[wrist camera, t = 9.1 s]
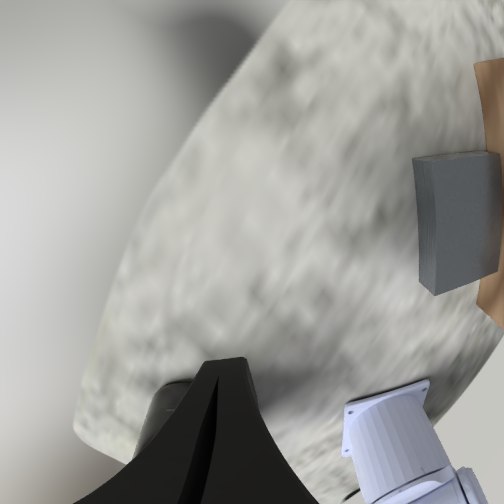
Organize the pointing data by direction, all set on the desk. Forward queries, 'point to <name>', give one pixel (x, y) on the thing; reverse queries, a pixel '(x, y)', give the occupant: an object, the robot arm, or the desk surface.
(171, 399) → the supplement bottle
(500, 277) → the block
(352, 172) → the desk surface
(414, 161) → the steel plate
